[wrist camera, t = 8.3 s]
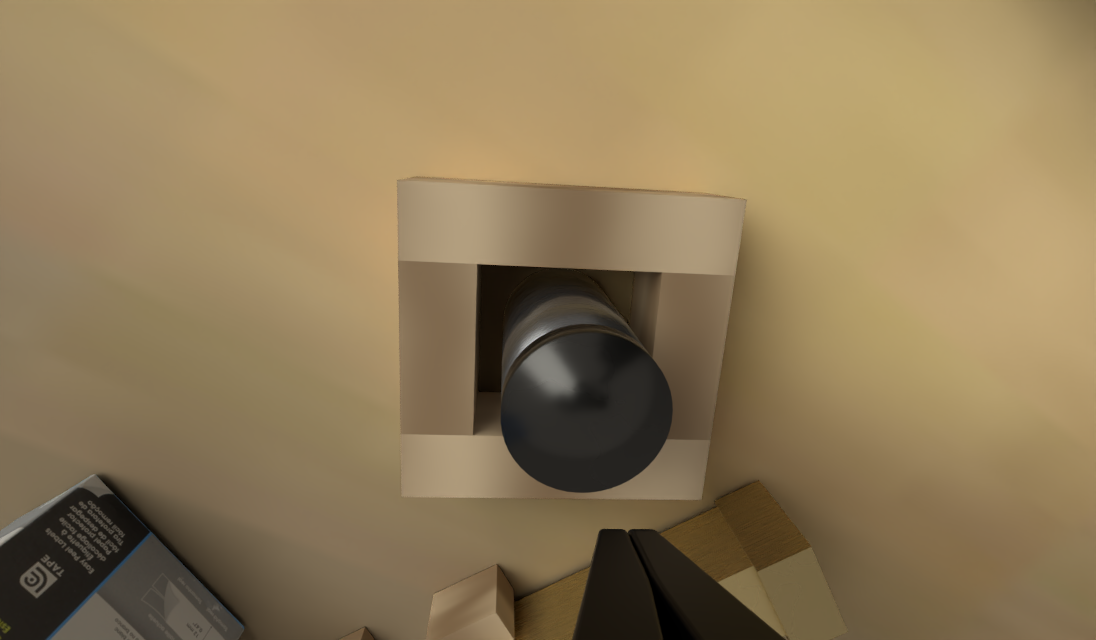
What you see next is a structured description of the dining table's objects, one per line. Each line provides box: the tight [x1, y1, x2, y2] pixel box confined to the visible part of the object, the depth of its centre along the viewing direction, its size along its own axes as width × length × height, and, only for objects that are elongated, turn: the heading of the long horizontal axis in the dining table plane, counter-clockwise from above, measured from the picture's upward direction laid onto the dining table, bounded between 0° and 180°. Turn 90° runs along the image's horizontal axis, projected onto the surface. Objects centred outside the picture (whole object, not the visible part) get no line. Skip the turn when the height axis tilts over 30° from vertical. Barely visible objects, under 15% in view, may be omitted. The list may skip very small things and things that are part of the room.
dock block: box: [397, 177, 747, 500], centre depth 19 cm, size 10×10×4 cm
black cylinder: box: [501, 268, 673, 493], centre depth 17 cm, size 4×4×8 cm
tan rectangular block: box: [514, 480, 848, 640], centre depth 22 cm, size 13×4×4 cm, turn 117°
